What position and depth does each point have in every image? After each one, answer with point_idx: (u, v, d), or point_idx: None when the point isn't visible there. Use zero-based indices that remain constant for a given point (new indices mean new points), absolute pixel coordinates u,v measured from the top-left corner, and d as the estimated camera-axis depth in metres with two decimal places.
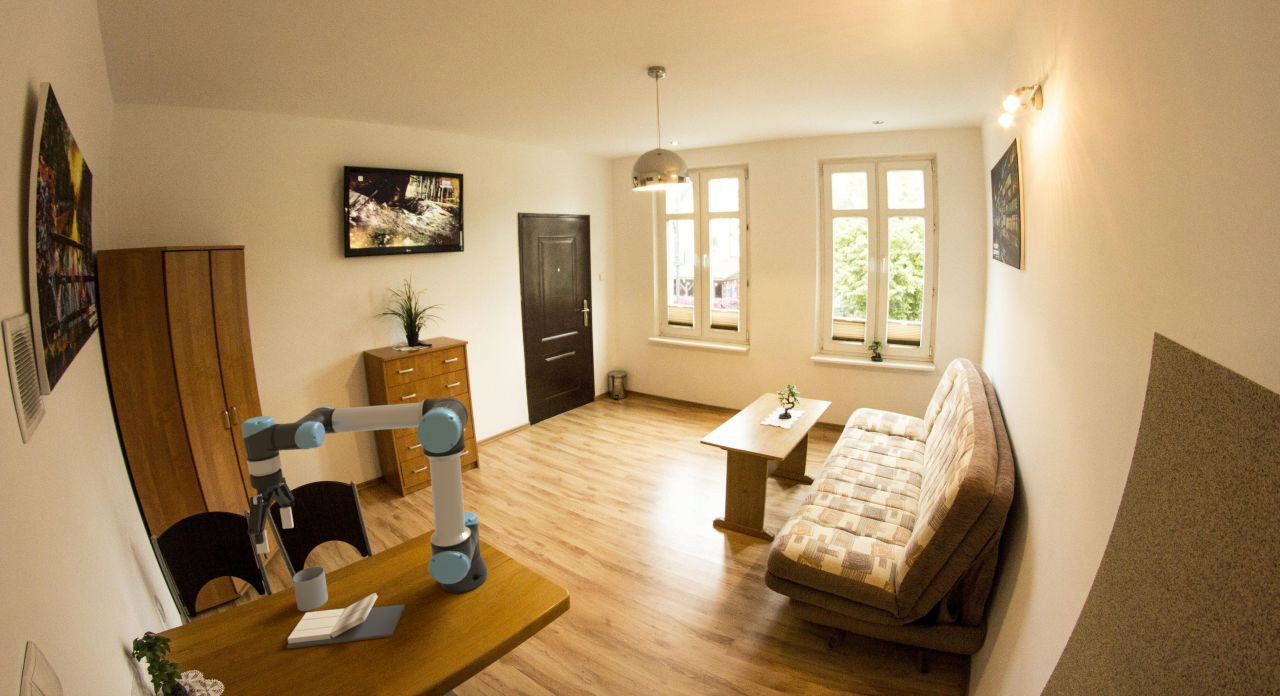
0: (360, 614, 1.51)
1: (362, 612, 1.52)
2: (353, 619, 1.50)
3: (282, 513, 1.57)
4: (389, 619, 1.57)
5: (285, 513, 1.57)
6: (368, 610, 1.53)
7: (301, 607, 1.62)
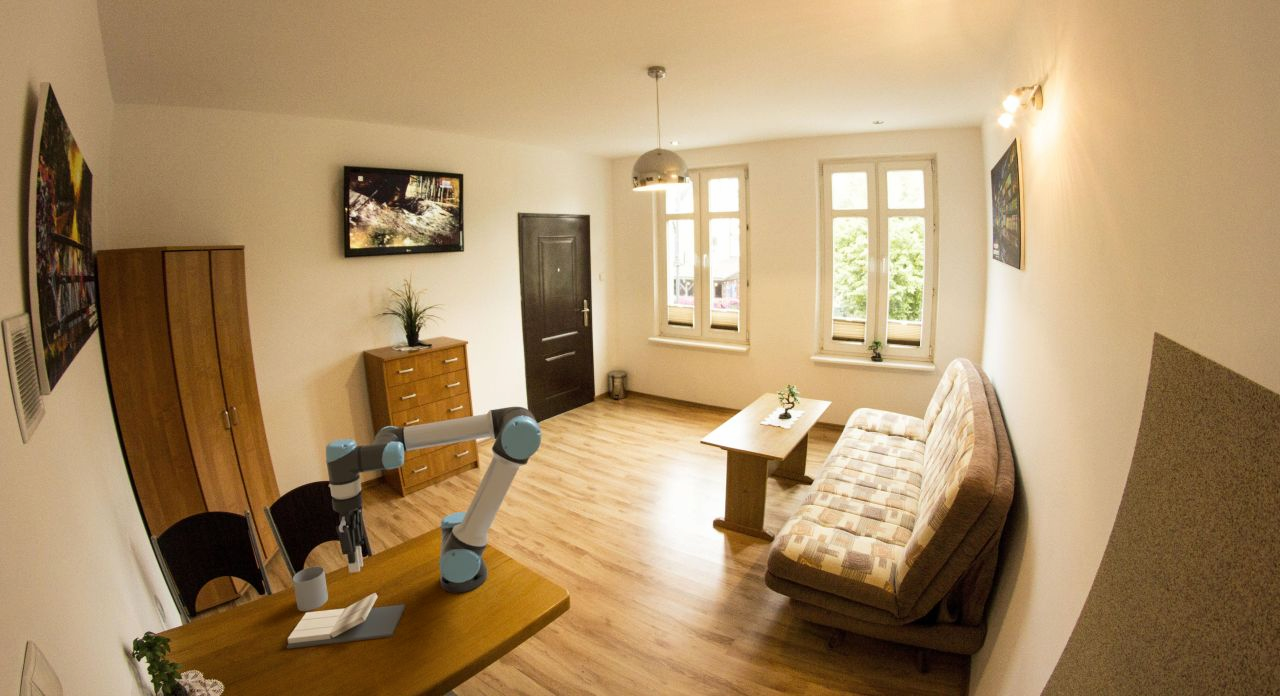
0: (360, 614, 1.51)
1: (362, 612, 1.52)
2: (353, 619, 1.50)
3: None
4: (389, 619, 1.57)
5: None
6: (368, 610, 1.53)
7: (301, 607, 1.62)
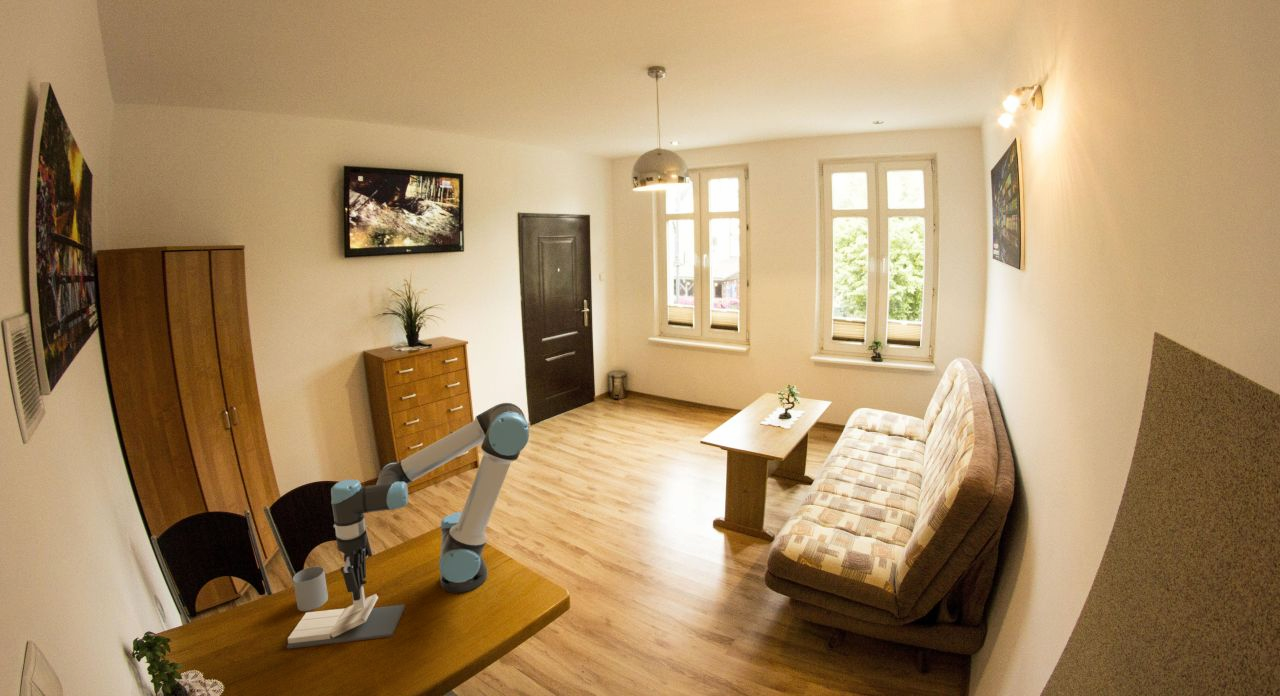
0: (360, 615, 1.51)
1: (363, 613, 1.52)
2: (354, 620, 1.50)
3: None
4: (389, 619, 1.57)
5: None
6: (369, 611, 1.54)
7: (301, 607, 1.62)
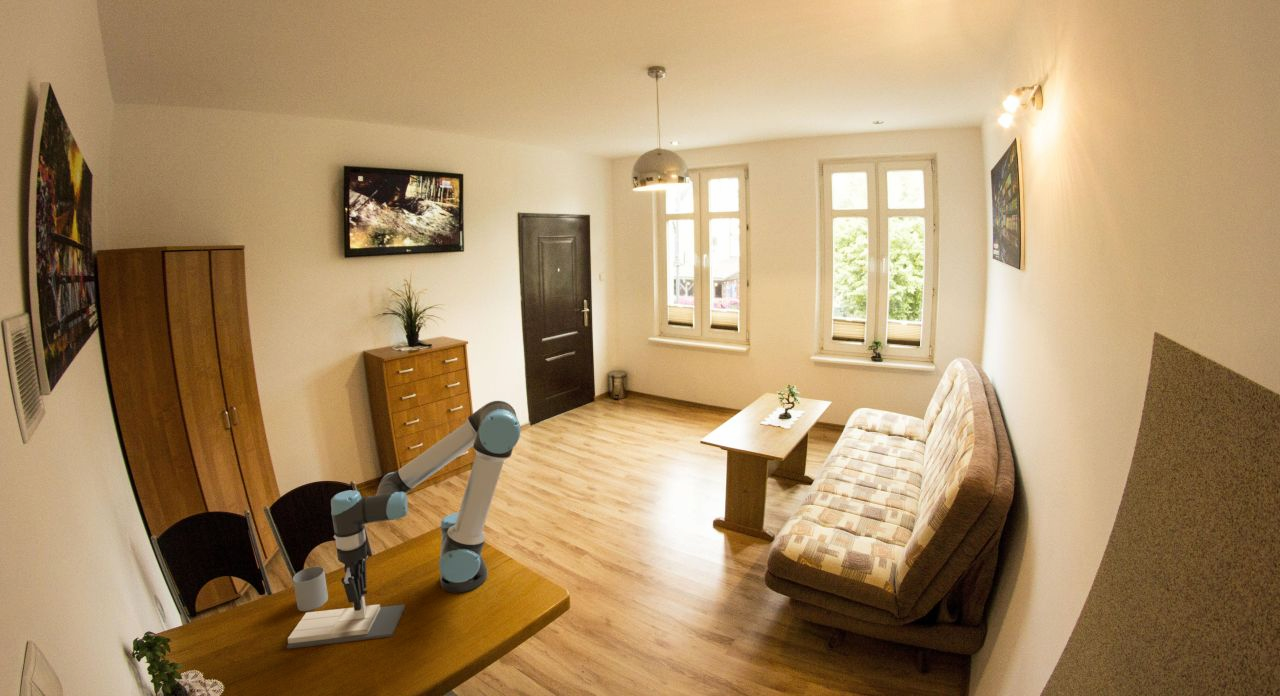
0: (364, 625, 1.52)
1: (367, 623, 1.53)
2: (357, 628, 1.51)
3: None
4: (389, 619, 1.57)
5: None
6: (372, 623, 1.54)
7: (301, 607, 1.62)
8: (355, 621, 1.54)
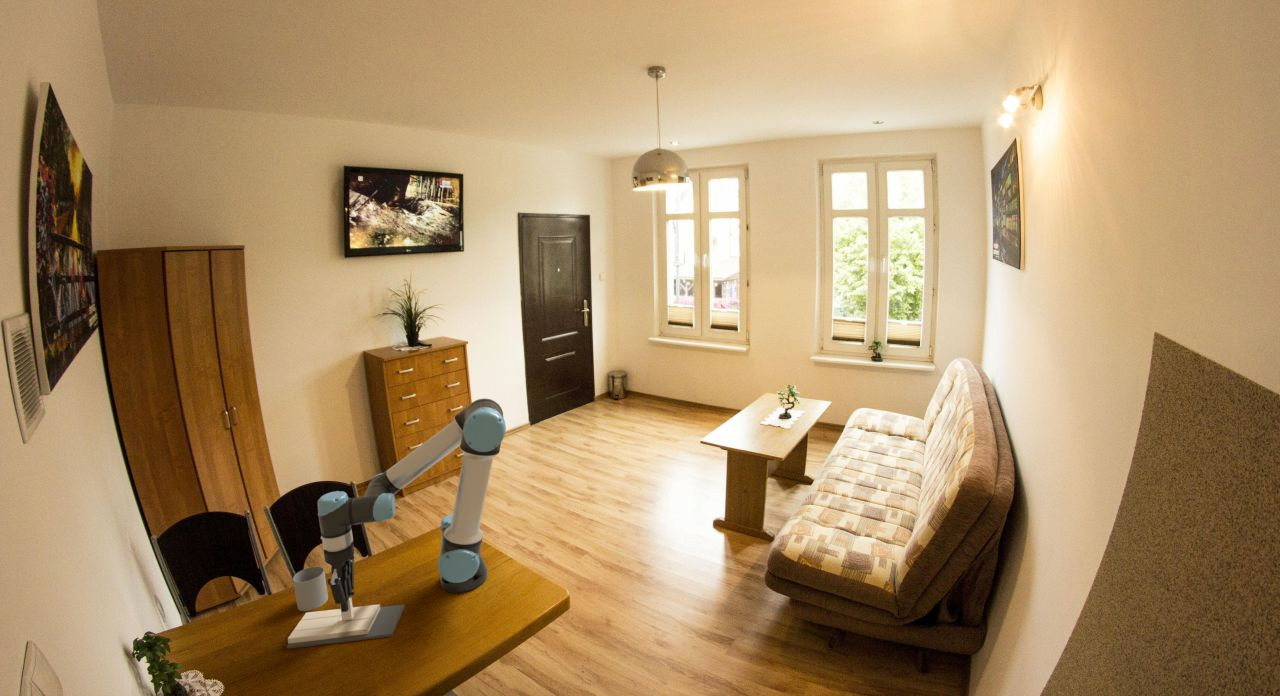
0: (364, 625, 1.52)
1: (367, 623, 1.53)
2: (357, 628, 1.51)
3: None
4: (389, 619, 1.57)
5: None
6: (372, 623, 1.54)
7: (301, 607, 1.62)
8: (355, 621, 1.54)
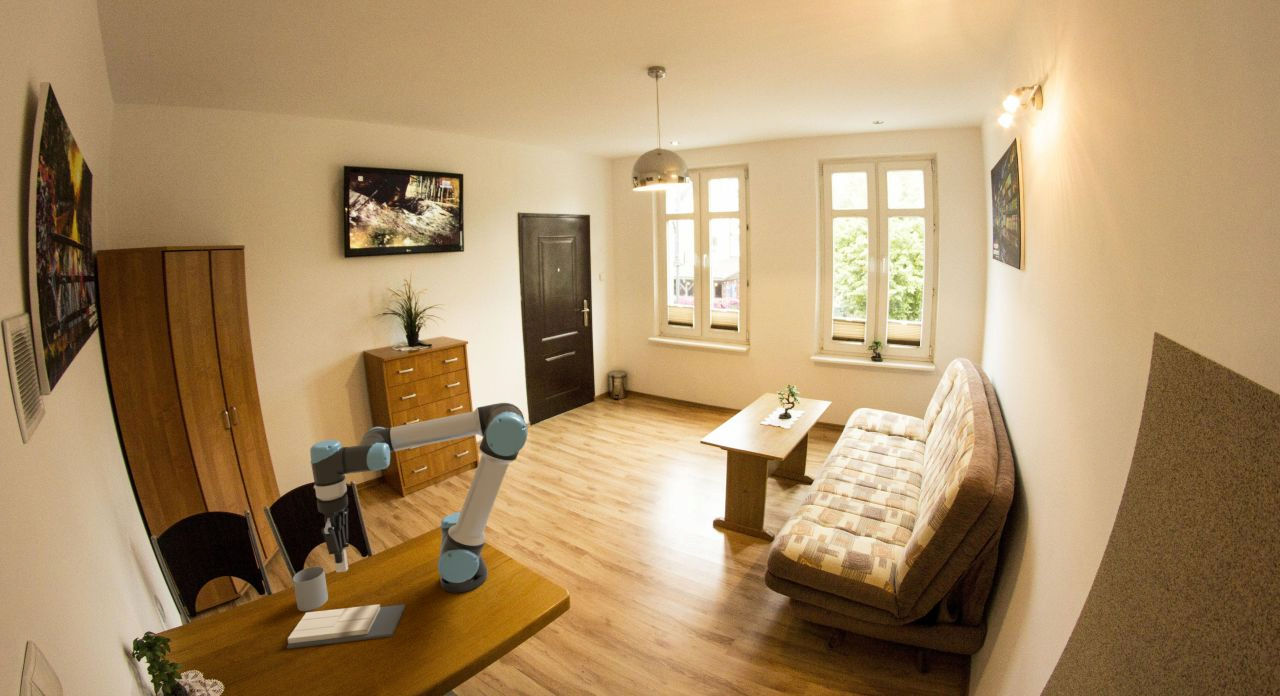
0: (364, 625, 1.52)
1: (367, 623, 1.53)
2: (357, 628, 1.51)
3: None
4: (389, 619, 1.57)
5: None
6: (372, 623, 1.54)
7: (301, 607, 1.62)
8: (355, 621, 1.54)
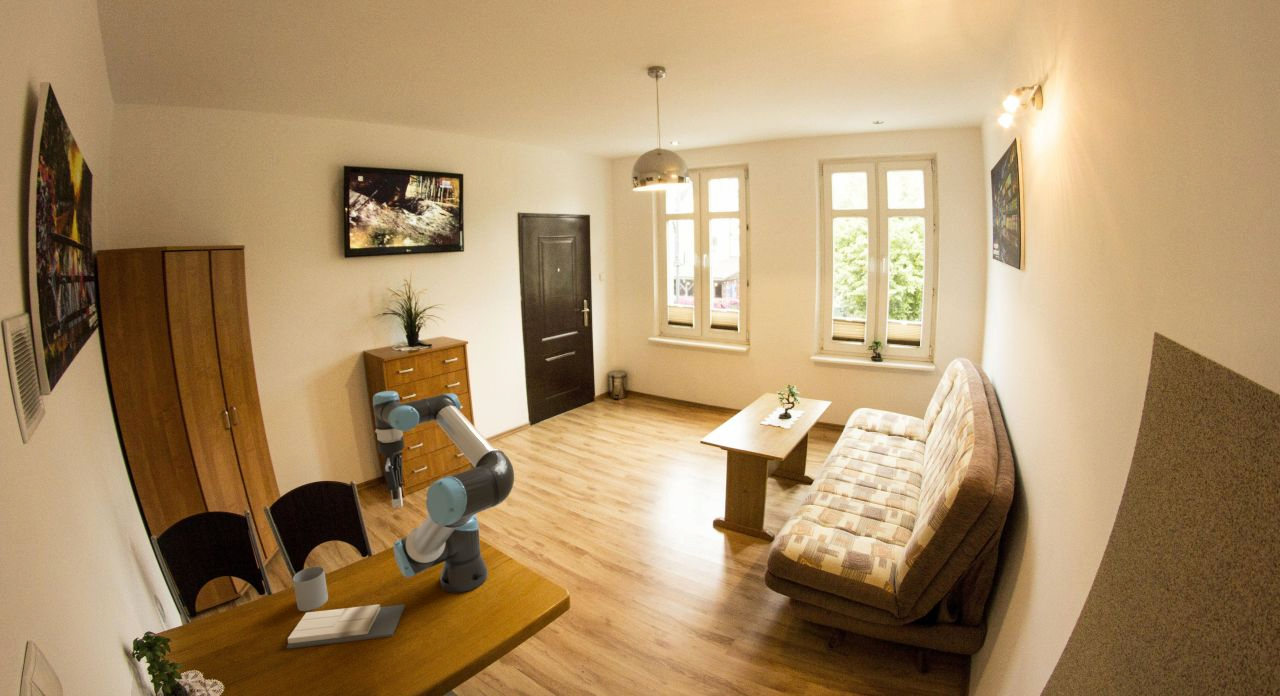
0: (364, 625, 1.52)
1: (367, 623, 1.53)
2: (357, 628, 1.51)
3: None
4: (389, 619, 1.57)
5: None
6: (372, 623, 1.54)
7: (301, 607, 1.62)
8: (355, 621, 1.54)
